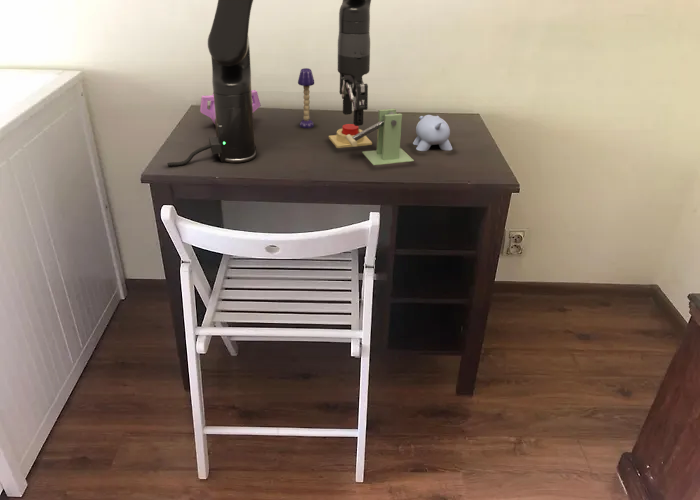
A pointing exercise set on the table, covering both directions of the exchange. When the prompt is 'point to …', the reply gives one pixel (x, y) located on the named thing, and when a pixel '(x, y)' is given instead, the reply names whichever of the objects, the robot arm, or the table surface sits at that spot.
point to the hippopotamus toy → (432, 133)
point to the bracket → (388, 141)
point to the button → (350, 129)
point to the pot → (211, 112)
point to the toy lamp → (306, 95)
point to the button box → (342, 142)
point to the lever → (365, 132)
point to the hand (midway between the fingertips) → (352, 119)
